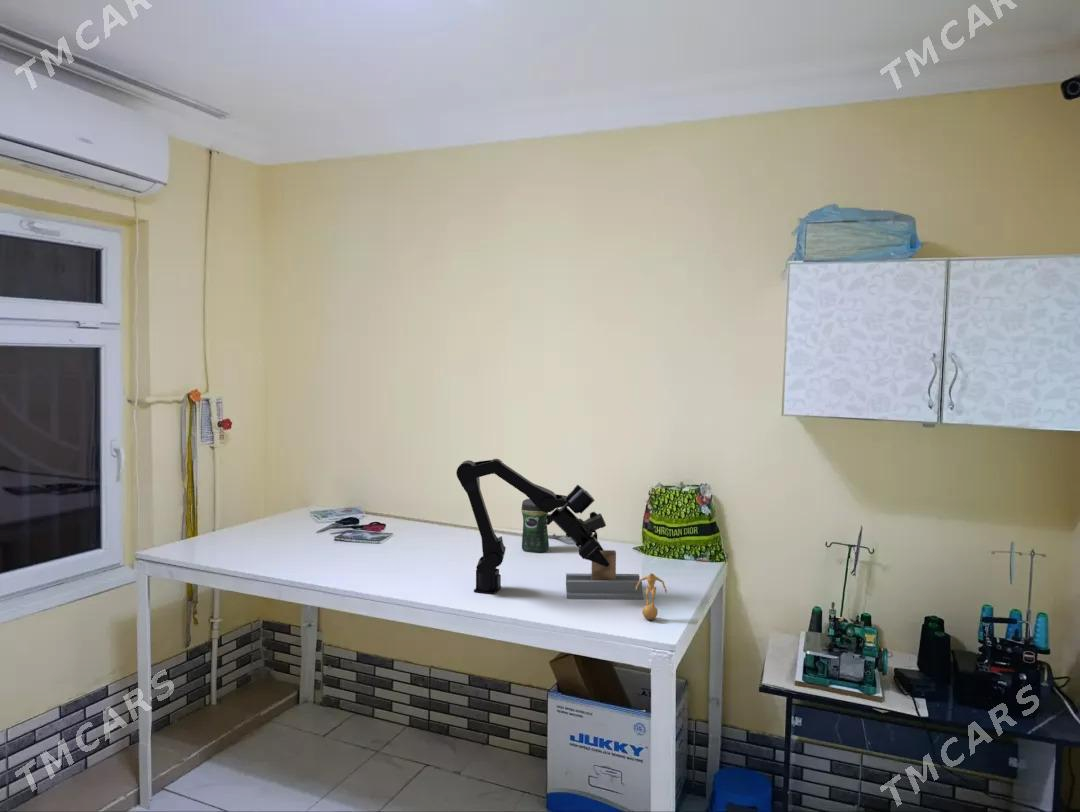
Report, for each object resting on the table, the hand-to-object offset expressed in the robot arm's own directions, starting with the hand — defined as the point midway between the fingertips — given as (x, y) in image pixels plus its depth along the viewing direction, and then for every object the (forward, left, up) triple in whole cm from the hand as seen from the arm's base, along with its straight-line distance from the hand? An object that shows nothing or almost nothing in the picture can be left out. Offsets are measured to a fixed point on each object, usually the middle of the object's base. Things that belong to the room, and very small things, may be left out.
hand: (607, 561), depth 214 cm
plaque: (-1, 0, -8) cm, 8 cm away
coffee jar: (-35, +38, -9) cm, 52 cm away
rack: (-1, 0, -9) cm, 9 cm away
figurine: (+16, -18, -9) cm, 26 cm away
